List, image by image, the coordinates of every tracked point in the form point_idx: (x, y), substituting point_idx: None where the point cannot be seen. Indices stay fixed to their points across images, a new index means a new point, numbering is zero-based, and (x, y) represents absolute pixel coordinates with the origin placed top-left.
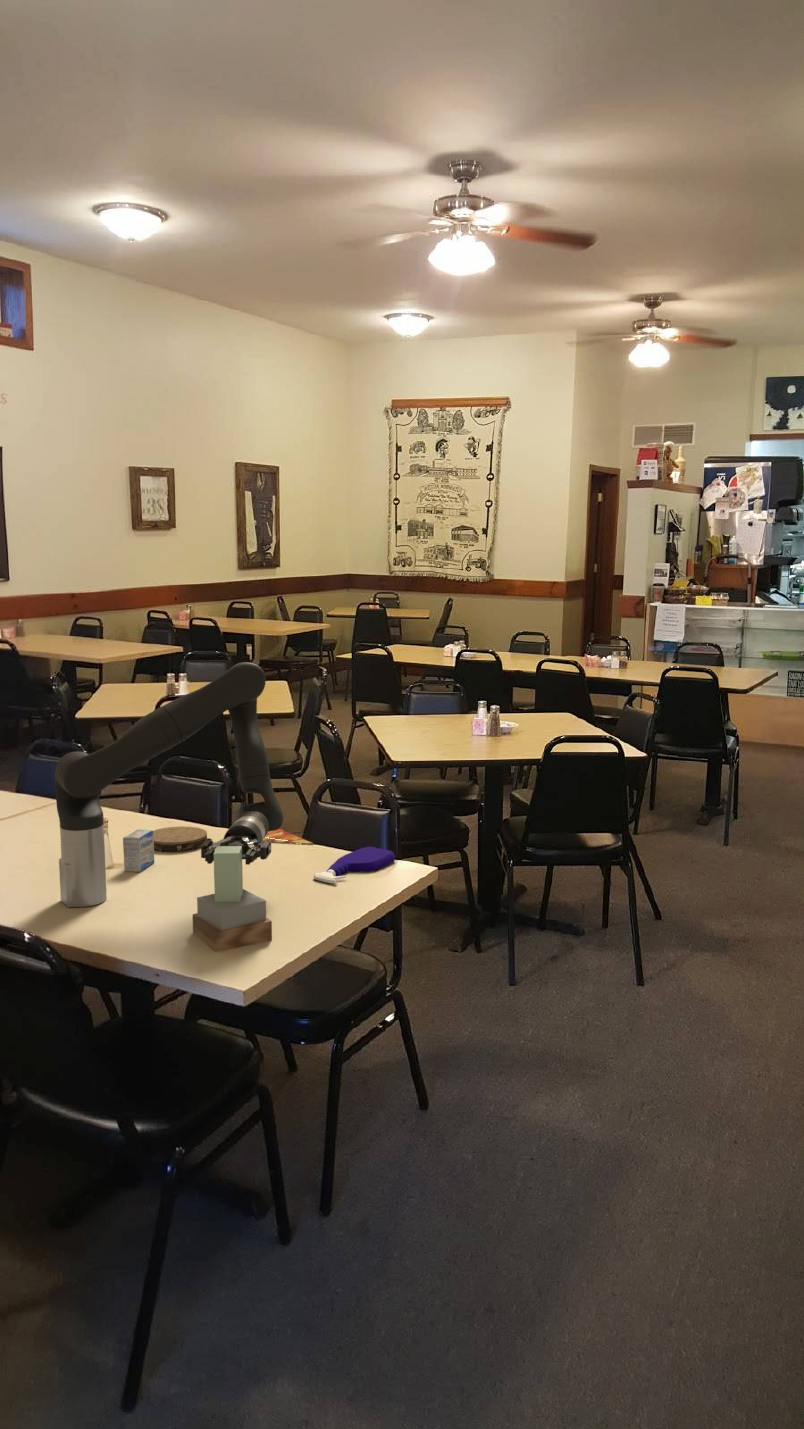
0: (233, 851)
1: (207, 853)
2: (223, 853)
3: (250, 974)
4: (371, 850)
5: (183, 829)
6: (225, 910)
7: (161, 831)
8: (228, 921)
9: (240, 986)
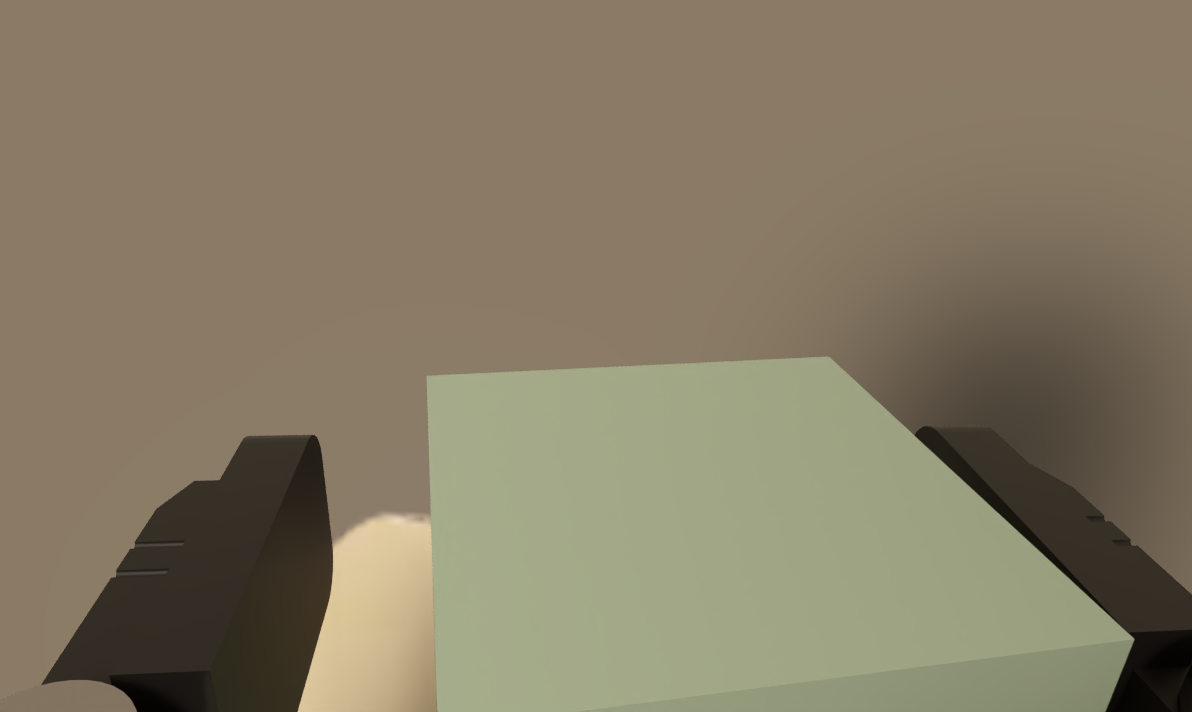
0: (549, 421)
1: (982, 427)
2: (681, 365)
3: (343, 610)
4: None
5: None
6: None
7: None
8: None
9: (382, 525)
